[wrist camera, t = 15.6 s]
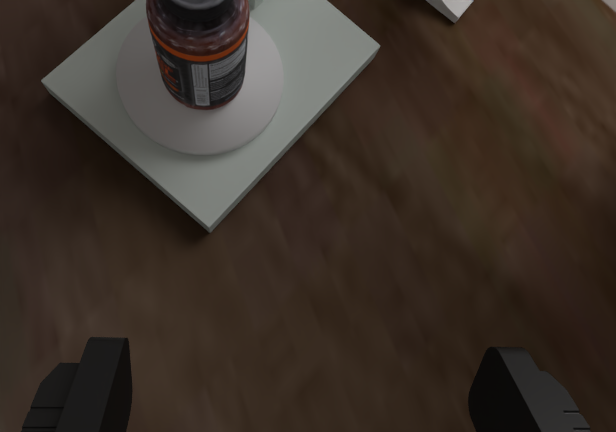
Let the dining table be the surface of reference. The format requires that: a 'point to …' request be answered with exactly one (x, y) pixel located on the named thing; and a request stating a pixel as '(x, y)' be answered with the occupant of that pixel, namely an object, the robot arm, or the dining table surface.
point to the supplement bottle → (200, 48)
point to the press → (222, 121)
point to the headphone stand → (451, 7)
